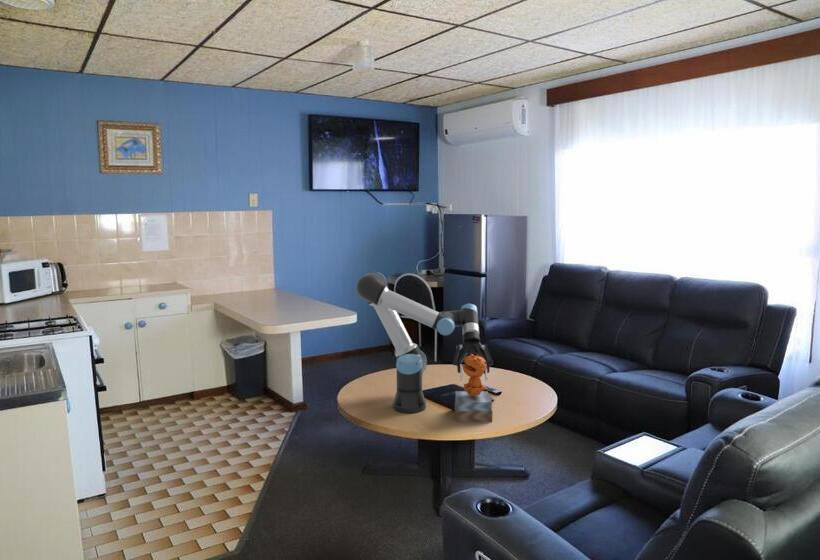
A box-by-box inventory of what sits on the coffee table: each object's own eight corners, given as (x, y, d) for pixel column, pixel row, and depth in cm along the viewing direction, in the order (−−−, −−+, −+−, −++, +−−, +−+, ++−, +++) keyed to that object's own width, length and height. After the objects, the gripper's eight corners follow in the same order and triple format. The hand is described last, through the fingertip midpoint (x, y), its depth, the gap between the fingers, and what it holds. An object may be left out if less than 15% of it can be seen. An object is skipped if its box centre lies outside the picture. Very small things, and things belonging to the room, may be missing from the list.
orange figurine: (460, 388, 264) (461, 349, 261) (484, 389, 264) (486, 350, 261) (461, 397, 253) (463, 356, 250) (486, 398, 253) (488, 357, 250)
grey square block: (457, 421, 252) (457, 402, 251) (454, 409, 267) (454, 391, 266) (492, 421, 252) (492, 402, 251) (487, 409, 267) (488, 391, 266)
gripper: (495, 339, 271) (499, 383, 257) (445, 339, 271) (447, 383, 257) (496, 330, 265) (501, 374, 251) (446, 330, 265) (448, 374, 251)
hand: (474, 379), depth 254 cm, fingers closed on orange figurine, 10 cm apart
